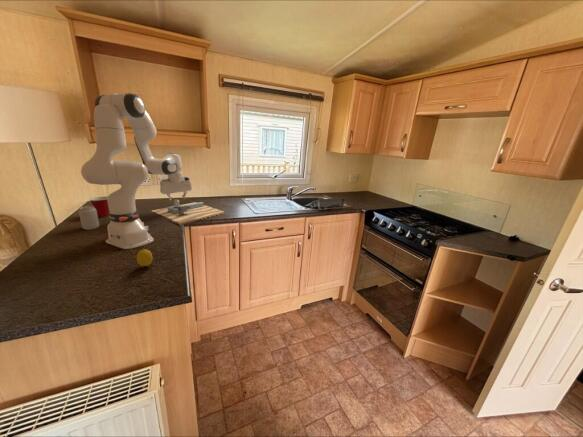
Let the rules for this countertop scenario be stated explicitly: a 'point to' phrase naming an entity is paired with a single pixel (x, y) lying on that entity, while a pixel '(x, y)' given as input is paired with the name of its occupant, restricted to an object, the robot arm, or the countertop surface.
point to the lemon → (144, 257)
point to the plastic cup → (101, 206)
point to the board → (189, 214)
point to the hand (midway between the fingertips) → (177, 198)
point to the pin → (176, 203)
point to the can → (88, 217)
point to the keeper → (183, 209)
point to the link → (194, 205)
